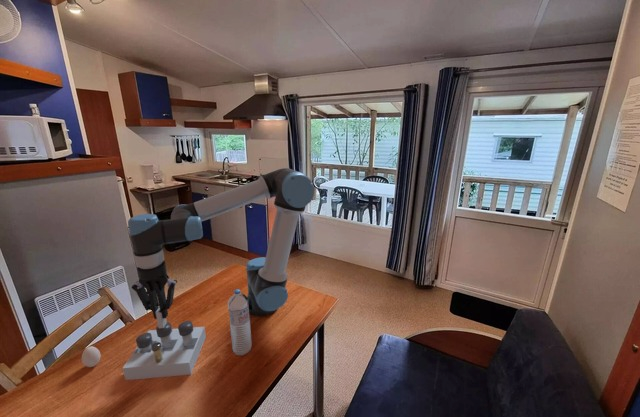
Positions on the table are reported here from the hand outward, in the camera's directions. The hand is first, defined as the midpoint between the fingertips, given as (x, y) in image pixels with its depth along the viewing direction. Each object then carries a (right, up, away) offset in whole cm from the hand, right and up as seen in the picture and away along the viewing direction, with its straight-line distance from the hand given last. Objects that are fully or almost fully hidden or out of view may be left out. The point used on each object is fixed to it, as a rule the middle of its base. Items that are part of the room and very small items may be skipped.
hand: (162, 325), depth 87 cm
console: (0, -13, +4) cm, 14 cm away
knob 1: (-7, -12, +3) cm, 14 cm away
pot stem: (+1, -10, -3) cm, 10 cm away
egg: (-24, -14, 0) cm, 28 cm away
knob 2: (+7, -8, +3) cm, 11 cm away
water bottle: (+25, -12, +8) cm, 29 cm away
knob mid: (0, -8, +2) cm, 8 cm away
